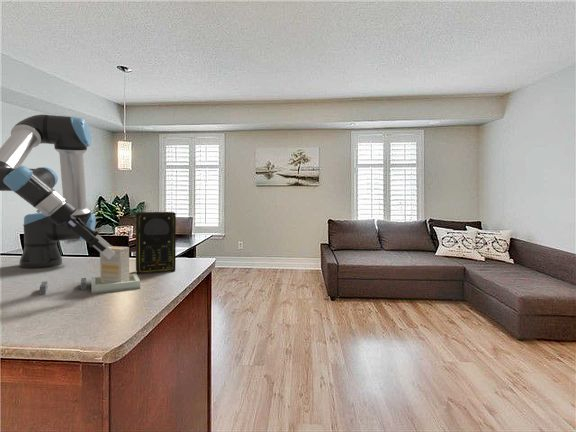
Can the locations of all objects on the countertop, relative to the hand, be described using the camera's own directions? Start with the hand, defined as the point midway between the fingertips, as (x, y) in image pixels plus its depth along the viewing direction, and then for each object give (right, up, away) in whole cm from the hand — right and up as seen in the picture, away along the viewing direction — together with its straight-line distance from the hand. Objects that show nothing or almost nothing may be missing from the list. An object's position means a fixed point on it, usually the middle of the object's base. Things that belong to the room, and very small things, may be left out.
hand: (111, 252), depth 114 cm
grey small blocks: (-14, -12, -4) cm, 18 cm away
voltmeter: (+5, -11, +25) cm, 28 cm away
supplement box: (0, -11, +2) cm, 12 cm away
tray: (+1, -12, +2) cm, 12 cm away
